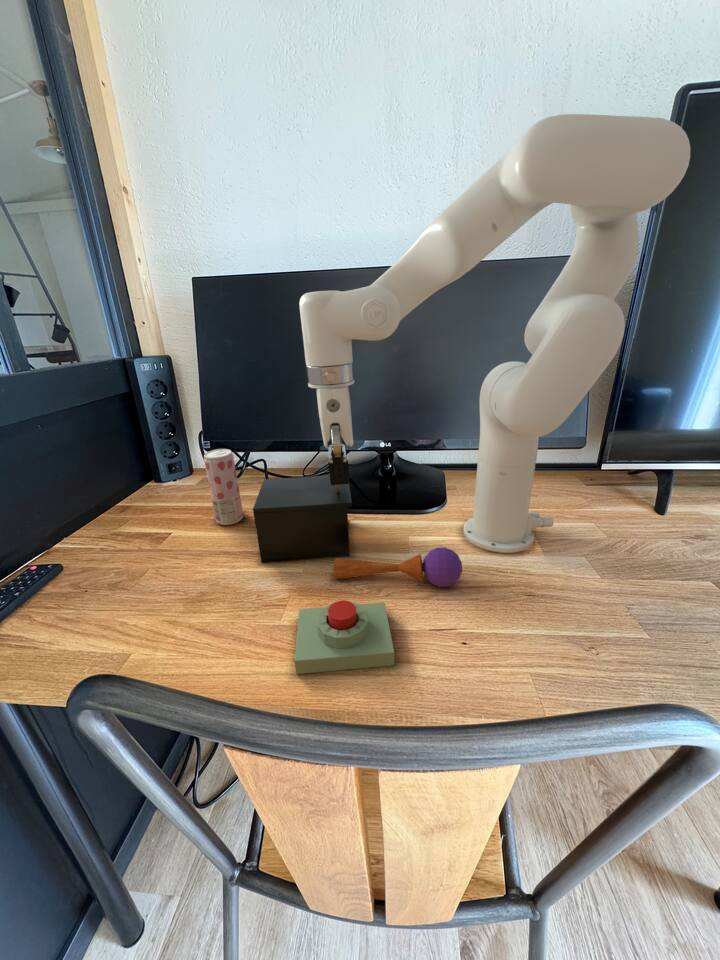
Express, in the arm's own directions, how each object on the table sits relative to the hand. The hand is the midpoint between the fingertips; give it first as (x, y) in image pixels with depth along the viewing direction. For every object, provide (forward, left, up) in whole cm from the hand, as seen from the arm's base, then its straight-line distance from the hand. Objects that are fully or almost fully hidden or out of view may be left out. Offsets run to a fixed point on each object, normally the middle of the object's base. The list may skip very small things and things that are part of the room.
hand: (339, 473), depth 71 cm
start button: (+1, +26, -10) cm, 28 cm away
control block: (+1, +26, -14) cm, 29 cm away
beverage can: (+24, -11, -14) cm, 30 cm away
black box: (+7, 0, -14) cm, 15 cm away
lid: (+7, 0, -4) cm, 8 cm away
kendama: (-8, +14, -14) cm, 21 cm away
